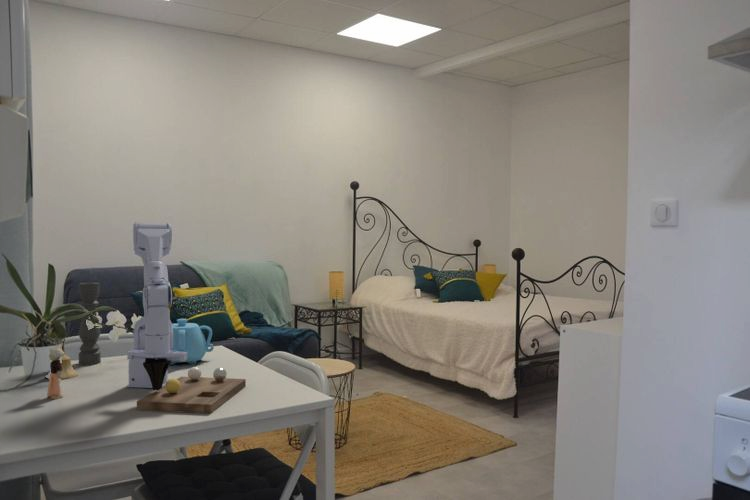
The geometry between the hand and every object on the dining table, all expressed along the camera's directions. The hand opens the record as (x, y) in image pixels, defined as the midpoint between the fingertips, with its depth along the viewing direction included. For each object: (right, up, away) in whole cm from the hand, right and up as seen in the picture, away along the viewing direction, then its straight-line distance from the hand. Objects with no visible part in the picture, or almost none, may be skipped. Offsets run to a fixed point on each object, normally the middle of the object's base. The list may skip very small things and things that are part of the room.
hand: (157, 389), depth 147 cm
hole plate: (+8, -3, +3) cm, 9 cm away
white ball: (+5, +1, +12) cm, 14 cm away
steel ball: (+12, +1, +12) cm, 17 cm away
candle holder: (-36, -1, +40) cm, 54 cm away
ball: (+4, +1, 0) cm, 4 cm away
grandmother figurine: (-26, -3, +2) cm, 26 cm away
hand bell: (-36, -2, +23) cm, 43 cm away
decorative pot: (-8, -2, +44) cm, 45 cm away
